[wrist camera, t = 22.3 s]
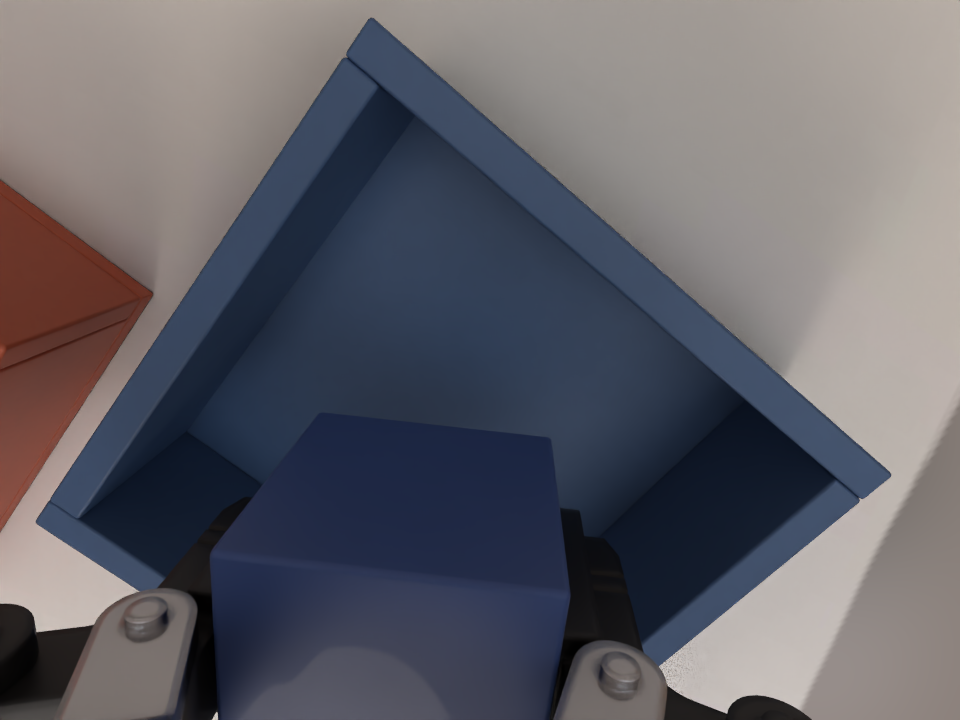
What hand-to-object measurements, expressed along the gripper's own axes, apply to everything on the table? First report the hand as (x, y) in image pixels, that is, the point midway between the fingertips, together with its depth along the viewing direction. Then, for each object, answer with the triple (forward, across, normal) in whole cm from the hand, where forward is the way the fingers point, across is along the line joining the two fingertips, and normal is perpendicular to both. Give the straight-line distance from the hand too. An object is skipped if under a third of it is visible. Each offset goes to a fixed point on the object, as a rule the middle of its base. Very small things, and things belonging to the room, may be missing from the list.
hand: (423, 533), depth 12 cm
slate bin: (+7, 0, 0) cm, 7 cm away
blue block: (0, 0, 0) cm, 0 cm away
